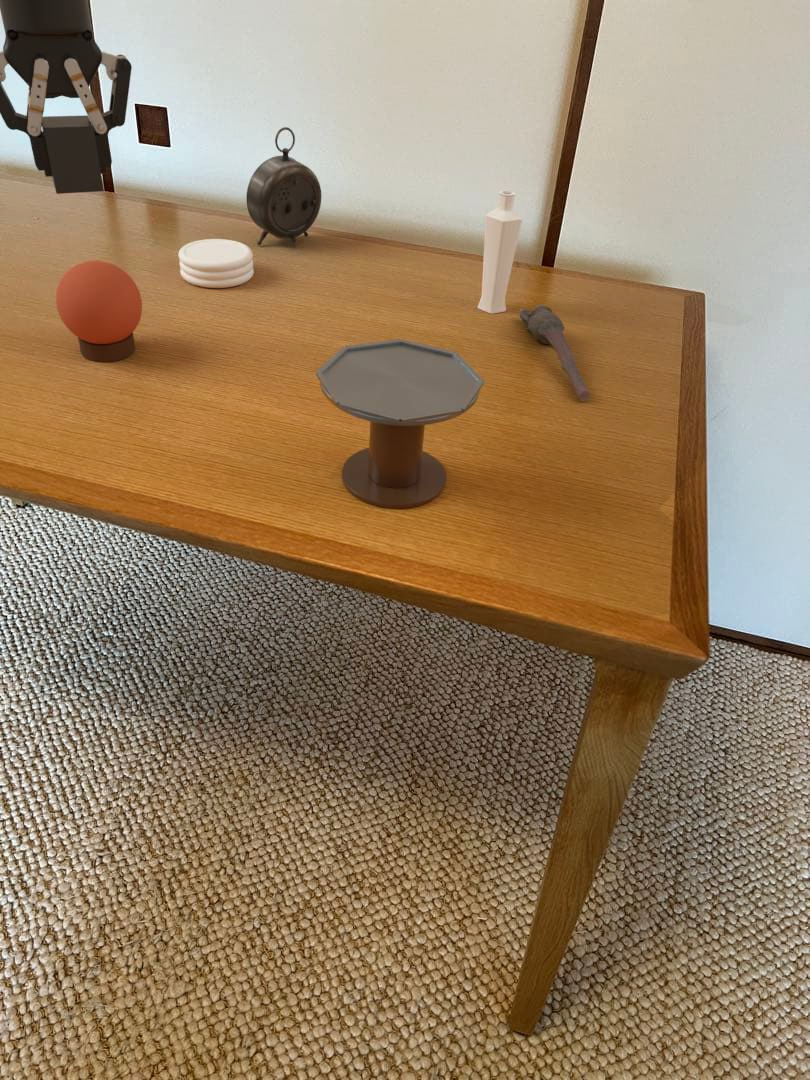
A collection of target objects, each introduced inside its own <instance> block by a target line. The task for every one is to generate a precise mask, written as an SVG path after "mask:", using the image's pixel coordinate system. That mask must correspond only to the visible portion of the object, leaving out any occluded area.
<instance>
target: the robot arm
mask: <svg viewBox="0 0 810 1080" xmlns="http://www.w3.org/2000/svg"><path fill="white" fill-rule="evenodd" d="M89 6H90V5H89V0H0V16H1V20H2V25H3V29H4V34H5V35H4V36H5V38H4V43H3V47H2V50H1V51H0V116H1V118H2V120H3V122H4V123H5V126H6V127H7V128H8V129H9V130H12V131H15V130H16V131H20V132H23V133H25V134H26V135H27V137H28V139H29V140H30V146H31V152H32V156H33V160H34V165H35V168H36V169H37V170H38V171H39V172H42V171H43V173H44V175H45V176H44V177H45V178H49V177H51V178H52V176H53V175H52V170H51V165H50V160H49V155H48V151H47V146H46V141H45V136H44V133H43V130H42V118H43V117H44V112H45V103H46V99H56V98H60V97H66V98H70V99H79V100H80V102H81V104H82V106H83V108H84V111H85V112H86V115H87V116H88V117H89V119H90V121H91V123H92V125H93V128H94V134H95V140H96V146H97V152H98V158H99V164H100V170H101V175H107V174H108V173H107V172H108V171H107V168H111V167H112V163H113V159H112V153H111V146H110V140H109V132H110V131H111V130H112V129H114V128H116V127H117V128H118V127H122V126H124V125H125V123H126V118H127V117H126V116H127V110H128V109H127V107H128V102H129V101H128V100H129V93H130V92H129V91H130V85H131V77H132V76H131V75H132V69H133V67H132V64H131V62H130V60H129V59H128V58H127V57H126V55H124V54H117V55H115V54H111V53H108V52H104V51H102V49H101V48H100V47H99V45H98V43H97V42H96V39H95V38H94V33H93V26H92V19H91V13H90V8H89ZM7 65H9V66H10V67H11V68H12V69H13V70H14V71H15V73H16V74H17V75H18V76H19V77H20V78H21V79H22V80H23V81H24V82H25V84H26V85H27V86H28V90H27V91H28V92H27V105H26V114H22V113H19V112H17V111H16V109H15V106H14V105H13V103H12V102H11V100H10V98H9V95H8V93H7V92H6V89H5V87H4V85H3V84H2V82H4V81H5V80H6V77H7V75H6V74H7V73H6V71H5V69H6V66H7ZM101 65H103V66H104V68H105V73H106V76H107V77H108V79H109V80H111V82H112V83H111V92H110V100H109V108H108V110H106V111H104V112H102V113H101V111H100V109H99V106H98V104H97V102H96V99H95V97H94V95H93V93H92V91H91V89H90V85H91V83H92V82H93V80H94V78H95V75H96V74H97V72H98V70H99V68H100V66H101Z"/></svg>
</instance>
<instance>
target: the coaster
mask: <svg viewBox="0 0 810 1080" xmlns="http://www.w3.org/2000/svg"><path fill="white" fill-rule="evenodd" d="M253 258H254V254H253V251H252V249H251V248H250V247H249V246H248V245H246V244H244V243H242V242H240V241H237V240H231V239H225V238H206V239H198V240H195V241H191V242H189V243H186V244H185V245H183V246H182V247H181V248H180V249H179V251H178V259H179V268H180V269H179V272H180V275H181V277H182V279H183V280H185V281H186V282H187V283H189V284H191V285H193V286H197V287H201V288H208V289H227V288H233V287H238V286H241V285H243V284H245V283H247V282H249V281H250V280H251V279H252V278H253V277H254V275H255V274H254V273H255V272H254V271H255V269H254V260H253Z"/></svg>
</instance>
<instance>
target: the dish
mask: <svg viewBox="0 0 810 1080" xmlns="http://www.w3.org/2000/svg"><path fill="white" fill-rule="evenodd" d="M315 376H316V377H317V379H318V380H319V387H320V390H321V391H322V393H323V395H324V397H325V398H326V400H327V401H328V402H330V403H331V404H332V405H333V406H334V407H336V408H337V409H339V410H340V411H342V412H344V413H346V414H348V415H350V416H352V417H355V418H358V419H361V420H364V421H367V422H369V440H368V447H367V448H363V449H361V450H358V451H357V452H355V453H353V454H352V455H350V456H349V457H348V458H347V459H346V460H345V462H344V463H343V466H342V469H341V481H342V484H343V485H344V488H345V489H346V490H347V492H349V493H350V494H351V495H352V496H353V497H355V498H356V499H358V500H360V501H361V502H363V503H365V504H368V505H371V506H374V507H378V508H383V509H391V510H392V509H394V510H399V509H400V510H403V509H411V508H416V507H420V506H424V505H426V504H429V503H431V502H432V501H434V500H435V499H437V498H438V497H439V496H440V495H441V494H442V493H443V491H444V489H445V488H446V484H447V472H446V469H445V467H444V466H443V464H442V463H441V462H440V461H439V460H438V459H436V457H434V456H433V455H431V454H429V452H425V451H423V450H424V440H425V439H424V438H425V429H426V428H425V427H426V426H427V425H434V424H439V423H444V422H446V421H450V420H453V419H455V418H457V417H460V416H461V415H463V414H464V413H466V412H468V411H469V410H470V409H471V408H472V407H473V406H474V405H475V404H476V402H477V401H478V398H479V395H480V391H481V389H482V387H483V386H484V384H485V379H484V378H483V377H482V376H481V375H480V374H479V373H478V372H477V371H476V370H475V369H474V368H473V367H472V366H471V364H469V363H468V362H467V361H466V360H465V359H464V357H462V356H461V355H460V354H459V353H458V352H456V351H453V350H449V349H445V348H441V347H436V346H434V345H433V346H432V345H428V344H424V343H419V342H415V341H411V340H407V339H403V338H401V339H400V338H396V339H389V340H382V341H374V342H365V343H359V344H357V343H356V344H349V345H345V346H342V347H341V348H340V349H339V350H338V351H337V352H335V354H334V355H332V356H331V357H330V358H329V359H328V360H327V361H325V362H324V363H323V364H322V365H321V366H320V367H319V368H318V369H317V370H316V371H315Z"/></svg>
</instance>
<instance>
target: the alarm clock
mask: <svg viewBox="0 0 810 1080" xmlns="http://www.w3.org/2000/svg"><path fill="white" fill-rule="evenodd" d="M285 130H286V131H288V132H290V134H291V136H292V144H291V146H290V147H289V148H287V147H284V148H282V149H281V148H280V147H279V144H278V138H279V136H280V134H281V133H282V132H283V131H285ZM295 143H296V136H295V133H294V131H293V129H291V128H290V127H287V126H284V127H281V128H280V129H278V131H277V132H276V134H275V138H274V144H275V147H276V149H277V150H278V151H279V152H280V153H282V155H275V156H272V157H270V158H268V159H267V160H264V161H263V162H262V163H260V165H258V167H257V168H256V169H255V170H254V172H253V173H252V175H251V177H250V179H249V182H248V186H247V191H246V199H245V200H246V207H247V208H246V209H247V211H248V215H249V217H250V218H251V220H252V222H254V224H255V225H256V226H257V227H259V228H260V229H262V233H261V235H260V238H259V240H257V245H258V246H261V245H262V242H263V241H264V240H265V239H266V237H267V236H268V234H270V235H271V236H273V237H274V238H277V239H281V240H290V243H291V246H292V247H293V248H296V247H297V243H296V238H297V237H299V236H301V235H303V236H304V237H306V238H307V237H309V233H308V230H309V229H310V228H311V227H312V225H313V224H314V222H315V221H316V219H317V218H318V216H319V212H320V209H321V205H322V188H321V184H320V181H319V179H318V177H317V175H316V173H315V172H314V171H313V170H312V169H311V168H310V167H308V166H307V165H305V164H304V163H301V162H300V161H298V160H296V159H294V158H293V157H291V156H289V154H290V151H292V150H293V147H294V146H295Z"/></svg>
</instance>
